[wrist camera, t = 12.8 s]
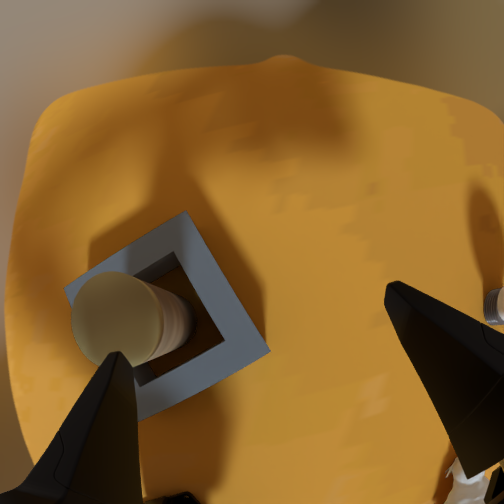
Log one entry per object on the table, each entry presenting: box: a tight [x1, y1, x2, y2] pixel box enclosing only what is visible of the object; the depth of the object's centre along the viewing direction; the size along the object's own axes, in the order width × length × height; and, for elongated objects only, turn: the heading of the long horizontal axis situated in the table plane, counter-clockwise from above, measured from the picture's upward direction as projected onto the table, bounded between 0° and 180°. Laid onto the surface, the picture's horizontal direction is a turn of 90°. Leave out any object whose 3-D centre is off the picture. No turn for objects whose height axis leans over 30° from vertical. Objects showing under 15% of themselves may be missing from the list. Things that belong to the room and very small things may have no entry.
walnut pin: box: [71, 271, 197, 367], centre depth 17 cm, size 4×4×11 cm
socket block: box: [64, 211, 271, 422], centre depth 20 cm, size 11×11×4 cm
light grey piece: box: [443, 457, 490, 504], centre depth 15 cm, size 6×8×12 cm
